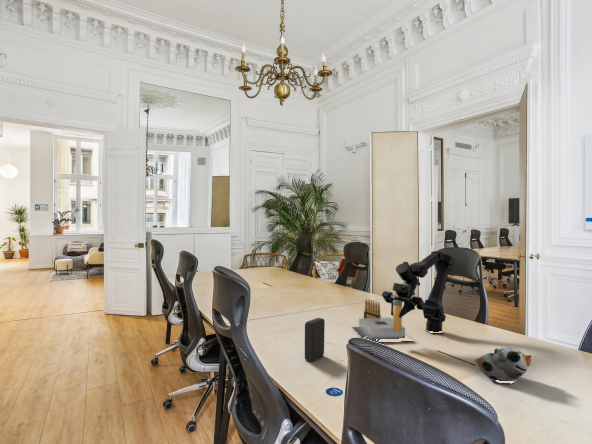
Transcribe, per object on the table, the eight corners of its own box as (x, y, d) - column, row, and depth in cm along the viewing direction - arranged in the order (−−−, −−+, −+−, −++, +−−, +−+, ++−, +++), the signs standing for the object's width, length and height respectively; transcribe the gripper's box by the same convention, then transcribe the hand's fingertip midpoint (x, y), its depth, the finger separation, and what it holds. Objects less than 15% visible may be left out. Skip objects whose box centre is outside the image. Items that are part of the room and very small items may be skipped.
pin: (400, 329, 149) (400, 299, 149) (403, 332, 145) (403, 301, 145) (391, 329, 149) (391, 299, 149) (394, 332, 145) (394, 301, 145)
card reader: (317, 353, 138) (317, 316, 138) (325, 355, 136) (325, 318, 136) (303, 360, 131) (303, 321, 131) (311, 363, 129) (312, 323, 129)
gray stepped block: (393, 326, 174) (393, 316, 174) (413, 341, 153) (413, 329, 153) (351, 328, 172) (352, 317, 172) (366, 343, 150) (366, 331, 150)
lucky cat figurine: (500, 367, 127) (522, 339, 122) (522, 394, 116) (547, 365, 111) (467, 358, 123) (488, 329, 119) (487, 386, 112) (511, 355, 108)
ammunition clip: (363, 320, 186) (363, 298, 186) (365, 319, 187) (366, 298, 187) (378, 325, 177) (378, 302, 177) (381, 324, 178) (381, 301, 178)
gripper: (384, 273, 156) (369, 301, 149) (422, 278, 142) (408, 309, 135) (393, 288, 162) (379, 315, 154) (431, 294, 148) (418, 325, 140)
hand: (395, 316), depth 146 cm, fingers closed on pin, 4 cm apart
